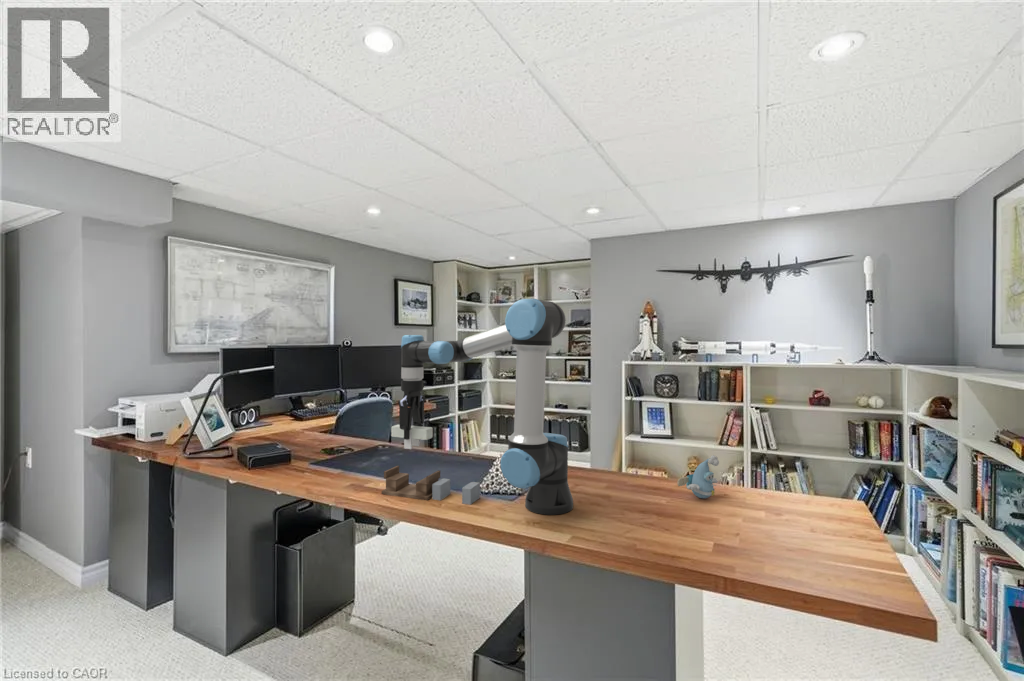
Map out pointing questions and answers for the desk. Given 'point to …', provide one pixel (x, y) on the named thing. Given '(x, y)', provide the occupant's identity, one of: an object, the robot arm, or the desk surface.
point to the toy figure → (701, 479)
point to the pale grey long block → (413, 432)
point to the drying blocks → (468, 492)
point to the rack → (408, 485)
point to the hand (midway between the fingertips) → (411, 446)
